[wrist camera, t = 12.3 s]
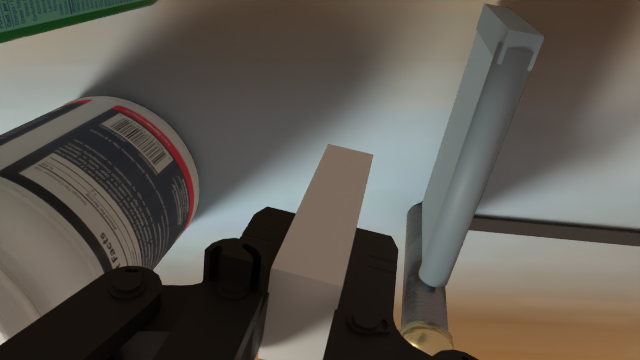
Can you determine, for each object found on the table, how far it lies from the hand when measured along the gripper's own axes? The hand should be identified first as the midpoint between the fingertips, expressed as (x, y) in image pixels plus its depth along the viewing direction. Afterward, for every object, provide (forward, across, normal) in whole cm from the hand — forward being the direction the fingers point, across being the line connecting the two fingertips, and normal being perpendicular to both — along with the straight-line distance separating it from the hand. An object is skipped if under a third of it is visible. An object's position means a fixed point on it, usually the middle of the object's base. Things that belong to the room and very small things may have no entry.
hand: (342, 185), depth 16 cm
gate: (+15, +6, -2) cm, 16 cm away
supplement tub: (+16, -18, -12) cm, 27 cm away
